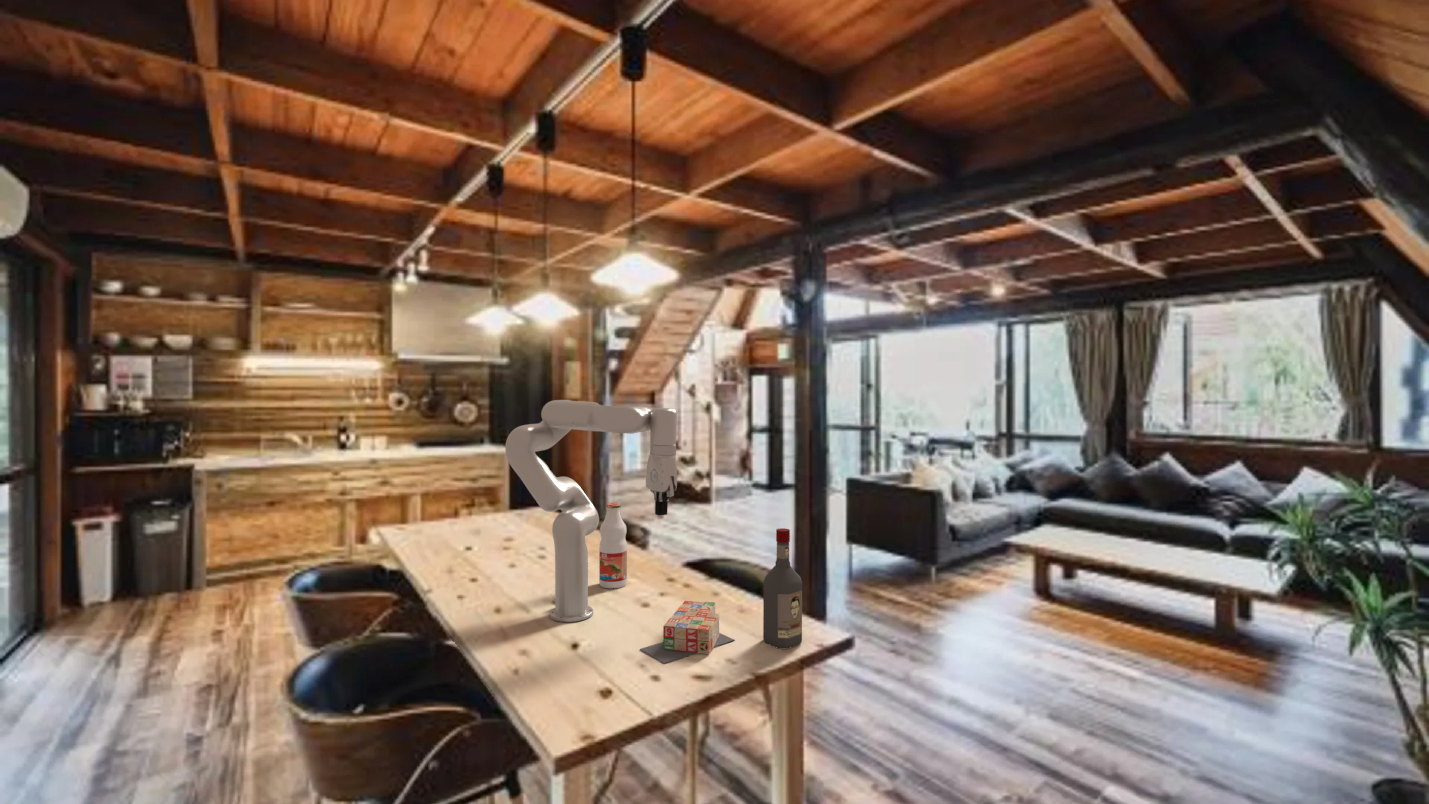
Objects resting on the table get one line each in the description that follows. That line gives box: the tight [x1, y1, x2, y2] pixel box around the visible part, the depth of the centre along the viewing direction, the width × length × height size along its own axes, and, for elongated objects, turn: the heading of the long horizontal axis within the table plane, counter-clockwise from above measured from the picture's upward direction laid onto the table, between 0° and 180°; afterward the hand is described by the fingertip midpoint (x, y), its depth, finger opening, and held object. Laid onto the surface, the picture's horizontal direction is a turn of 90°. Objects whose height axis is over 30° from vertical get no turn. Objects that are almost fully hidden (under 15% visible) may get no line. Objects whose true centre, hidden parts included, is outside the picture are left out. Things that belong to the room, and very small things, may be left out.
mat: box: [639, 632, 736, 665], centre depth 168 cm, size 11×23×1 cm, turn 130°
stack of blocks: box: [662, 600, 720, 655], centre depth 173 cm, size 21×6×12 cm
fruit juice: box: [598, 502, 628, 589], centre depth 220 cm, size 9×9×28 cm
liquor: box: [762, 527, 803, 649], centre depth 170 cm, size 9×9×30 cm
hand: (661, 514), depth 184 cm, fingers closed
